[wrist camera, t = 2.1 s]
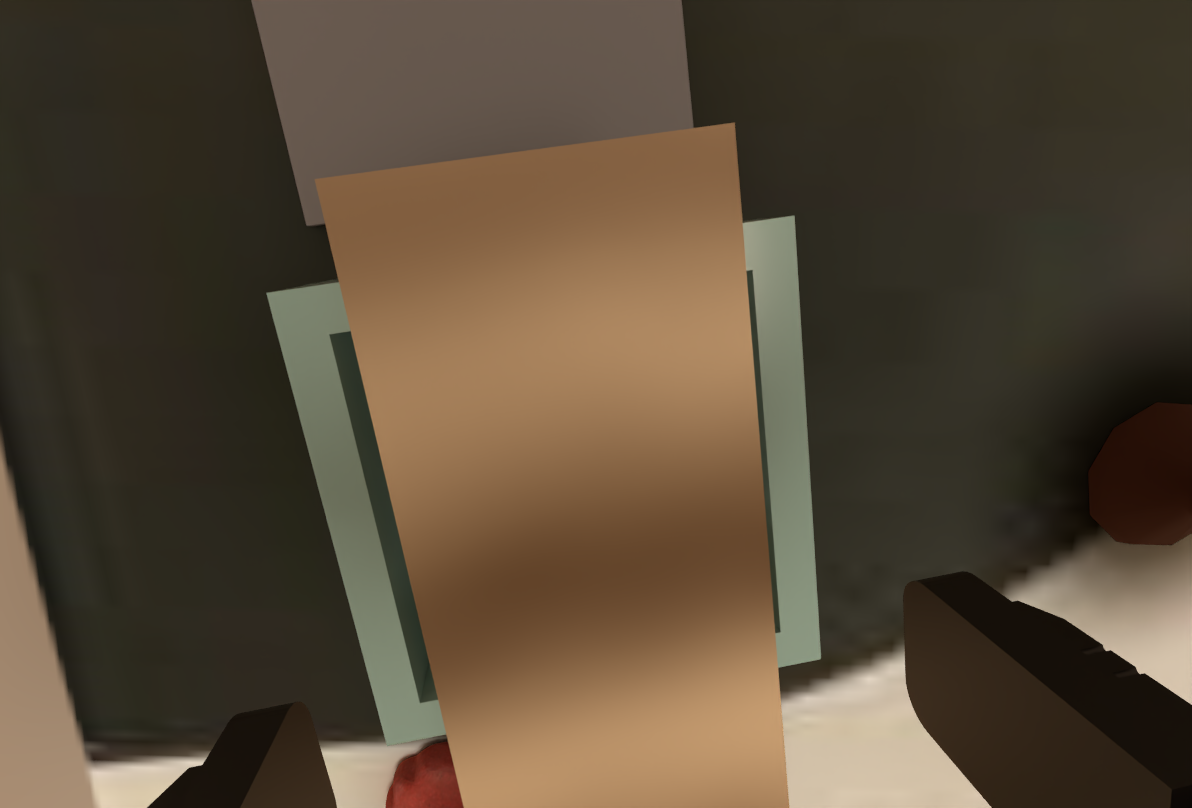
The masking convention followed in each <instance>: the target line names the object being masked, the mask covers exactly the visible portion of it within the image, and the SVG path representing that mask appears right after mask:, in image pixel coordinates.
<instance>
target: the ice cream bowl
mask: <svg viewBox="0 0 1192 808" xmlns="http://www.w3.org/2000/svg"><path fill="white" fill-rule="evenodd" d="M1088 479H1089V508H1090V516H1091V517H1092V518H1093V519H1094V520H1095V521H1096V522H1097V523H1098V524H1099V525H1100V526H1101V527H1102V528H1103V529H1104V530H1105V531H1106V532H1107V533H1108V534H1109V535H1110V536H1111V537H1112V538H1113V539H1114V540H1115V541H1117V542H1123V543H1129V544H1146V545H1173V544H1174V543H1176V542H1178V541H1179V540H1181V539H1183V538H1184V537H1186V536H1188V535H1189V534H1191V533H1192V405H1191V404H1175V403H1158V402H1156V403H1155V404H1153V405H1151V406H1150V407H1148V408H1146V409H1145V410H1143V411H1141V412H1140V413H1138V414H1136V415H1135V416H1133V417H1131V418H1130V419H1128V420H1126V421H1125V422H1123V423H1121V424H1120V425H1118V426H1116V427H1115V428H1113V430H1112V432H1111V434H1110V435H1109V437H1108V439H1107V440H1106V442H1105V444H1104V446H1103V447H1102V449H1101V451H1100V452H1099V454H1098V456H1097V457H1096V459H1095V461H1094V463H1093V464H1092V466H1091V468H1090V469H1089V471H1088Z"/></svg>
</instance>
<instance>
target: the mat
mask: <svg viewBox="0 0 1192 808" xmlns="http://www.w3.org/2000/svg"><path fill="white" fill-rule="evenodd" d="M251 1H252V5H253V9H254V13H255V17H256V21H257V25H258V29H259V34H260V38H261V42H262V46H263V50H264V54H265V58H266V62H267V66H268V70H269V74H270V78H271V83H272V87H273V91H274V95H275V99H276V103H277V107H278V111H279V115H280V119H281V123H282V128H283V132H284V136H285V140H286V144H287V148H288V152H289V156H290V160H291V164H292V168H293V173H294V177H295V181H296V185H297V189H298V193H299V197H300V201H301V205H302V209H303V213H304V217H305V222H306V226H320V225H325V221H324V217H323V212H322V208H321V204H320V200H319V196H318V191H317V187H316V183H315V179H319V178H327V177H334V176H342V175H349V174H357V173H364V172H371V171H379V170H386V169H394V168H401V167H409V166H416V165H424V164H431V163H438V162H446V161H453V160H461V159H468V158H476V157H483V156H490V155H498V154H505V153H513V152H520V151H528V150H535V149H543V148H550V147H557V146H565V145H572V144H580V143H587V142H595V141H602V140H609V139H617V138H624V137H632V136H639V135H647V134H654V133H662V132H669V131H676V130H684V129H691V128H694V127H693V117H692V106H691V96H690V85H689V75H688V64H687V54H686V43H685V33H684V22H683V11H682V1H681V0H251Z"/></svg>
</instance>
